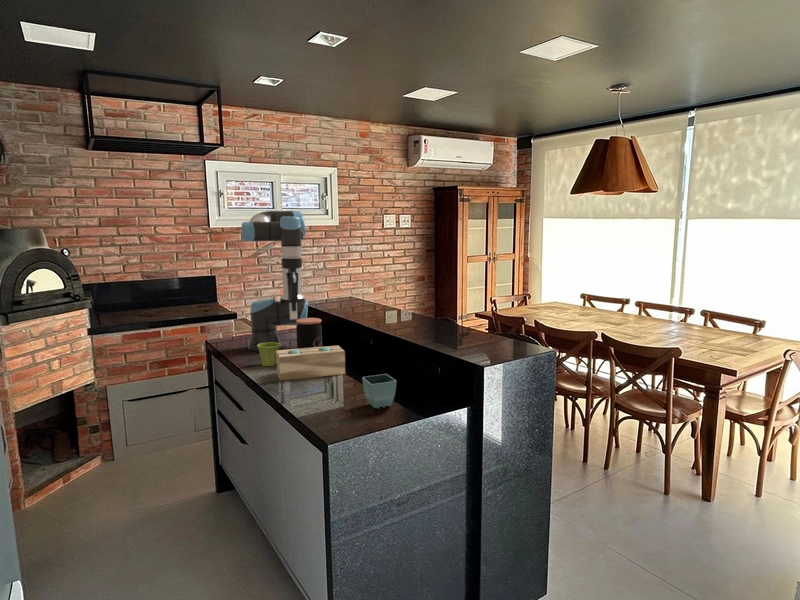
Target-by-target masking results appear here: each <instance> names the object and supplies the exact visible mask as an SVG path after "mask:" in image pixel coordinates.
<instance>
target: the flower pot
mask: <svg viewBox="0 0 800 600" xmlns="http://www.w3.org/2000/svg"><path fill="white" fill-rule="evenodd" d="M361 378H362V379H361V381H362V386H363V392H364V395H365V398H366V400H367V402H368V403H369V404H370V406H372V407H373V409H375V408H377V409H381V408H380V407H383V408H387V407H386V406H389V407H390V406H391V405H392V403H393V401H394V399H395V395H396V389H397V380H396V379H394V378H393V377H392V376H390V375H389V374H388V373H384V374H382V373H381V374H376V375H367V376H363V377H361Z"/></svg>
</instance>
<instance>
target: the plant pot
mask: <svg viewBox="0 0 800 600" xmlns="http://www.w3.org/2000/svg"><path fill="white" fill-rule="evenodd" d="M279 346H280V343H275V342H268V343H260V344H258V345H257V347H258V349H259V351H258V352H259V355H260V361H261V365H262V366H263V367H274V366H277V359H276V351H278V350H280V348H279Z"/></svg>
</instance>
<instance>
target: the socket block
mask: <svg viewBox="0 0 800 600" xmlns="http://www.w3.org/2000/svg"><path fill="white" fill-rule="evenodd" d="M323 347H324V346H322V347H314V348H302V349H297V348H293V349H279V350H278V351H276V359H277V364H276V373H277V376H278V378H279V380H280V381H287V380H297V379H308V378H309V379H310V378H317V377H327V376H336V375H345V374H346V352H345V350H344V349H343V348H342V347H341V346H340V345H329V346H328V345H327V346H325V347H329V348H331V351H323V352H320V348H323ZM291 350H300V354H290V351H291Z"/></svg>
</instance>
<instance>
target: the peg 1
mask: <svg viewBox="0 0 800 600" xmlns="http://www.w3.org/2000/svg"><path fill="white" fill-rule="evenodd" d="M290 354H300V350H291V351H290Z"/></svg>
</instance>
